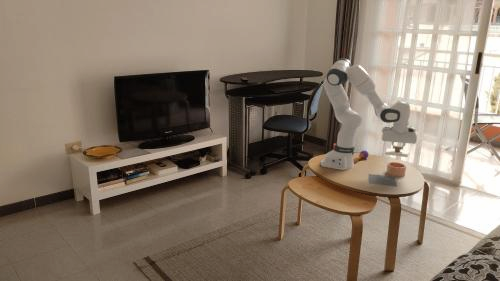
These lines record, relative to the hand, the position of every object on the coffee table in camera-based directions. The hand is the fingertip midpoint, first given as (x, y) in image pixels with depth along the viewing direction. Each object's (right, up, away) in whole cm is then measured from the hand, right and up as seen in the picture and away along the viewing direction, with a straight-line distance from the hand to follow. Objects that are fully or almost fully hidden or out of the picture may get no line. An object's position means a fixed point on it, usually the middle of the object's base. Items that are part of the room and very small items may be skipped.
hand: (397, 148), depth 241 cm
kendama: (-16, -9, +31) cm, 36 cm away
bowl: (+1, -16, +7) cm, 18 cm away
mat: (-11, -19, -5) cm, 23 cm away
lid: (0, -3, 0) cm, 3 cm away
